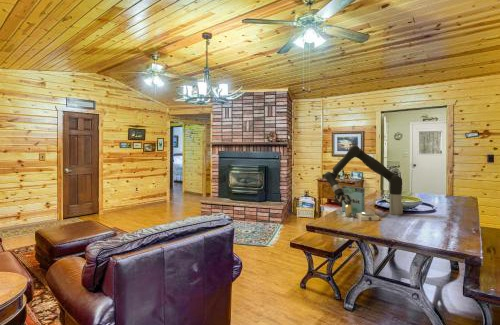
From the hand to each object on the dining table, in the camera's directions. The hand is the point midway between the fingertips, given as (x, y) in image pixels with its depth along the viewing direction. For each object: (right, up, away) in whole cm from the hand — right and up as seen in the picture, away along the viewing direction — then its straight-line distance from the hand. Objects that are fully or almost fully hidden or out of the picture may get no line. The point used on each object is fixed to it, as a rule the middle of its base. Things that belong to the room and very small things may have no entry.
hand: (345, 205), depth 247 cm
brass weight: (+1, -9, -3) cm, 9 cm away
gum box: (+10, -8, +10) cm, 16 cm away
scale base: (+14, -9, -10) cm, 19 cm away
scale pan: (+14, -4, -11) cm, 18 cm away
